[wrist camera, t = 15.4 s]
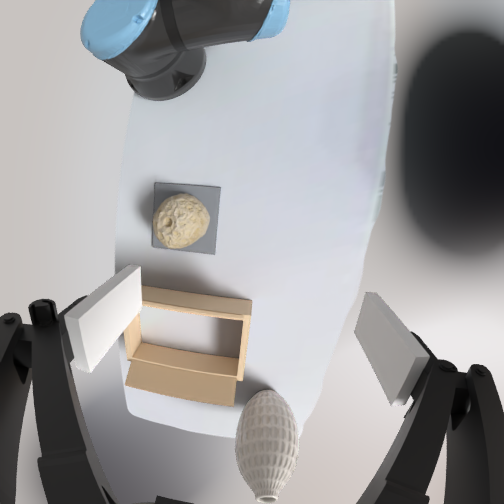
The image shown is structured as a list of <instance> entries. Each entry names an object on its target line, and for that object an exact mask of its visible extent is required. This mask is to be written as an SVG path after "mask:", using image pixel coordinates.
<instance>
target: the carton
mask: <svg viewBox="0 0 504 504" xmlns="http://www.w3.org/2000/svg"><path fill="white" fill-rule="evenodd" d="M141 293H142V305H143V306H148V307H154V308H159V309H165V310H171V311H177V312H184V313H190V314H197V315H204V316H211V317H218V318H226V319H234V320H242V321H243V329H242V338H241V347H240V355H239V359H238V358H230V357H223V356H215V355H208V354H202V353H195V352H189V351H184V350H178V349H172V348H167V347H162V346H157V345H152V344H147V343H143V342H142V339H141V328H140V315H139V313H138V314H137V315H136V316H135V318H134V319H133V320H132V321H131V322H130V324H129V325H128V326H127V327H126V329H125V330H124V331H123V332H124V339H125V347H126V353H127V360H128V361H131V365H130V368H129V371H128V375H127V379H126V382H125V385H126V386H129V387H133V388H137V389H141V390H145V391H149V392H153V393H157V394H162V395H166V396H171V397H176V398H181V399H186V400H192V401H197V402H203V403H210V404H217V405H224V406H232V407H234V399H235V390H236V382H237V381H243V375H244V367H245V360H246V352H247V344H248V336H249V328H250V320H251V310H252V300H243V299H235V298H226V297H219V296H211V295H204V294H196V293H189V292H182V291H175V290H169V289H162V288H156V287H150V286H144V285H141Z"/></svg>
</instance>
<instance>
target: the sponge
mask: <svg viewBox="0 0 504 504" xmlns="http://www.w3.org/2000/svg"><path fill="white" fill-rule="evenodd" d="M209 221H210V216H209V213H208V211H207V209H206V207H205V206H204V205H203V203H202V202H201V201H200V200H198V199H197V198H196V197H195V196H192V195H189V194H188V193H185V194H182V193H180V194H178V195H174V196H171V197H169V198H167V199H166V200H164V202H163V203H161V205H160V207H159V208H158V210H157V211H156V213H155V214H154V216H153V228H154V234H155V236H156V238H158V240H159V241H160V242H161V243H162V244H163V245H164V246H166V247H167V248H170V249H172V248H174V249H177V248H178V249H180V248H184V247H187V246H189V245H191V244H192V243H194V242H195V241H197V240H198V239H199V238H200V237H203V235H205V233H206V231H207V228H208V225H209Z"/></svg>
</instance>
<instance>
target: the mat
mask: <svg viewBox="0 0 504 504" xmlns="http://www.w3.org/2000/svg"><path fill="white" fill-rule="evenodd" d="M220 191H221V188H219V187H207V186H195V185H182V184H166V183H155V196H154V214H155V213H156V211H157V210H158V208H159V207H160V205H161V203H163V202H164V200H166V199H167V198H169V197H171V196H174V195H178V194H180V193H182V194H185V193H188V194H189V195H192V196H195V197H196V198H197V199H198V200H200V201H201V202H202V203H203V205H204V206H205V207H206V209H207V211H208V213H209V216H210V221H209V225H208V228H207V231H206V233H205V235H203V237H200V238H199V239H198V240H197V241H195V242H194V243H192V244H191V245H189V246H187V247H184V248H180V249H178V248H177V249H174V248H172V249H171V250H179V251H187V252H196V253H204V254H213V255H215V248H216V236H217V224H218V213H219V202H220ZM153 247H154V248H163V249H170V248H167V247H166V246H164V245H163V244H162V243H161V242H160V241H159V240H158V238H156V236H155V234H154V228H153Z"/></svg>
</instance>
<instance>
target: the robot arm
mask: <svg viewBox="0 0 504 504" xmlns="http://www.w3.org/2000/svg"><path fill="white" fill-rule="evenodd" d="M289 7H290V0H95V2H94V4H93V5H92V6H91V7H90V8H89V10H88V11H87V13H86V15H85V17H84V20H83V22H82V26H81V33H80V34H81V41H82V43H83V45H84V47H85V48H86V49H88V50H89V51H90V52H91V53H93V55H94V56H95V57H97V58H98V59H100V60H102V61H104V62H106V63H107V64H109V65H111V66H113V67H114V68H116V69H118V70H119V71H121V72H123V73H124V74H125V76H126V79H127V81H128V83H129V85H130V87H131V88H132V89H133V90H134V91H135V92H136V93H137V94H139V95H140V96H142V97H144V98H146V99H149V100H154V101H164V100H169V99H173V98H175V97H178V96H180V95H182V94H184V93H185V92H187V91H188V90H189V89H191V88H192V87H193V86H194V85H195V84H196V82H197V81H198V80H199V79H200V77H201V75H202V73H203V71H204V69H205V65H206V53H205V49H204V47H208V46H213V45H219V44H225V43H232V42H240V41H247V42H251V41H254V40H255V39H263V38H271V37H274V36H276V35H278V34H279V33H281V32H282V30H283V29H284V27H285V25H286V22H287V19H288V14H289ZM28 308H29V313H30V317H31V321H32V325H30V324H23V323H22V319H21V317H20V315H19V314H17V313H6V314H4V315H3V316H1V317H0V504H15V496H16V475H17V474H16V473H17V461H18V451H19V442H20V435H21V429H22V422H23V416H24V411H25V406H26V402H27V397H28V393H29V389H30V384H31V381H32V383H33V396H34V407H35V416H36V423H37V430H38V436H39V442H40V447H41V452H42V457H39V458H38V468H39V472H40V477H41V480H42V484H43V488H44V491H45V495H46V498H47V501H48V504H120V503H119V501H118V500H117V498H116V496H115V495H114V493H113V491H112V489H111V487H110V485H109V482H108V480H107V478H106V476H105V474H104V472H103V469H102V467H101V464H100V462H99V459H98V457H97V454H96V452H95V449H94V446H93V444H92V441H91V438H90V435H89V432H88V429H87V426H86V423H85V420H84V417H83V413H82V410H81V406H80V403H79V399H78V395H77V392H76V387H75V383H74V379H73V375H72V370H71V366H70V362H71V361H72V360H73V359H74V360H75V364H76V367H77V369H80V370H83V371H86V372H89V373H91V372H92V370H93V369H94V368H95V367H96V365H97V364H98V363H99V361H100V360H101V359H102V358H103V356H104V355H105V354H106V352H107V351H108V350H109V349H110V347H111V346H112V345H113V344H114V342H115V341H116V340H117V339H118V337H119V336H120V335H121V334H122V332H123V331H124V330H125V329H126V327H127V326H128V325H129V324H130V322H131V321H132V320H133V319H134V318H135V316H136V315H137V314H138V313H139V312H140V310H141V309H142V293H141V266H137V265H130V264H129V265H128V266H126V267H125V268H124V269H122V270H121V271H120V272H118V273H117V274H116V275H114V276H113V277H112V278H110V279H109V280H108V281H106V282H105V283H104V284H103V285H101V286H100V287H99V288H98V289H96V290H95V291H94V292H92V293H91V294H90V295H88V296H84V297H81V298H79V299H77V300H76V301H75V302H73V304H71V305H70V306H68V308H66V309H64V310H63V311H62V312H61V313H59V314H57V310H56V304H55V302H54V301H52V300H50V299H40V300H36V301H34V302H32V303H31V304H30V305H29V307H28ZM354 333H355V335H356V337H357V339H358V340H359V342H360V344H361V346H362V348H363V350H364V352H365V354H366V356H367V358H368V360H369V362H370V364H371V366H372V368H373V370H374V372H375V374H376V376H377V378H378V380H379V382H380V384H381V386H382V388H383V390H384V392H385V394H386V396H387V398H388V400H389V403H390V404H391V406H399V405H405V404H406V402H407V400H408V399H409V397H410V395H411V396H412V398H413V400H414V401H413V403H412V405H411V406H410V408H409V410H408V411H407V413H406V415H405V416H404V418H405V420H404V422H403V424H402V426H401V428H400V430H399V432H398V434H397V436H396V439H395V440H394V442H393V444H392V446H391V448H390V450H389V452H388V454H387V455H386V457H385V459H384V461H383V463H382V464H381V466H380V468H379V469H378V471H377V473H376V474H375V476H374V478H373V479H372V481H371V482H370V484H369V485H368V487H367V488H366V490H365V492H364V493H363V494H362V496H361V497H360V499H359V500H358V502H357V503H356V504H428V503H429V500H430V499H429V496H426V495H425V494H426V491H427V488H428V485H429V483H430V480H431V478H432V475H433V472H434V470H435V467H436V464H437V461H438V458H439V455H440V451H441V448H442V445H443V441H444V438H445V434H446V435H447V467H446V468H447V469H446V487H445V498H444V504H504V412H503V409H502V405H501V401H500V398H499V395H498V392H497V389H496V386H495V383H494V380H493V377H492V374H491V372H490V371H489V370H488V369H487V368H486V367H485V366H483V365H479V364H473V365H471V367H470V369H469V370H468V372H467V373H464V372H458V370H457V368H456V366H455V365H454V364H452V363H451V362H449V361H446V360H438V359H437V358H436V357H435V355H434V354H433V353H432V352H431V350H430V349H429V348H427V346H426V344H425V343H424V342H423V341H422V339H421V338H420V337H419V336H418V335H416V334H415V333H413V332H410V331H409V330H408V329H407V327H406V326H405V325H404V324H403V323H402V321H401V320H400V319H399V318H398V317H397V316H396V314H395V313H394V312H393V311H392V310H391V309H390V307H389V306H388V305H387V304H386V303H385V302H384V300H383V299H382V298H381V297H380V296H379V295H378V294H377V293H373V292H365V296H364V300H363V303H362V307H361V311H360V314H359V318H358V321H357V325H356V328H355V331H354ZM136 504H193V503H188V502H183V501H178V500H173V499H169V498H165V497H161V496H157V497H156V501H155V503H136Z"/></svg>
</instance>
